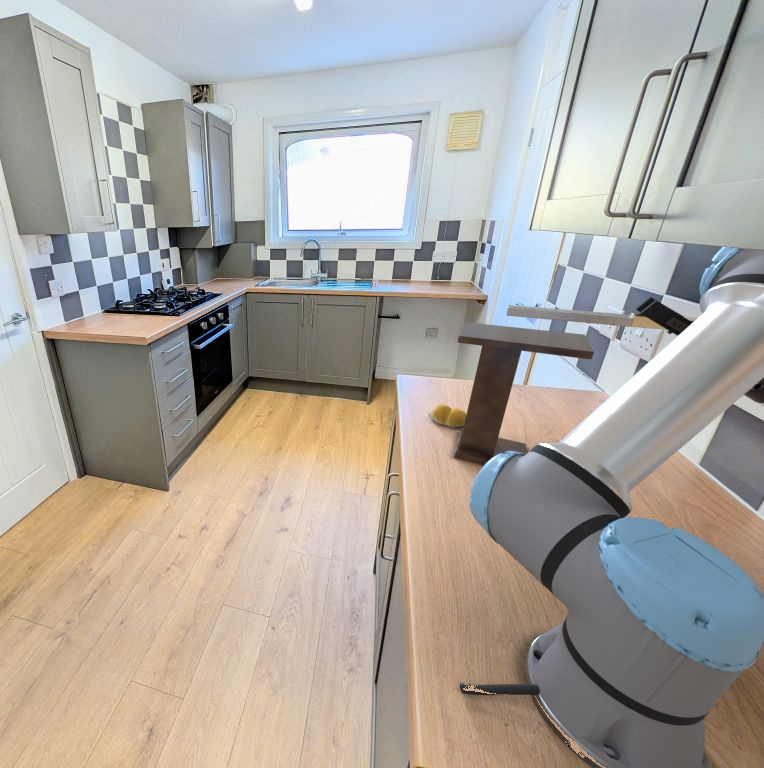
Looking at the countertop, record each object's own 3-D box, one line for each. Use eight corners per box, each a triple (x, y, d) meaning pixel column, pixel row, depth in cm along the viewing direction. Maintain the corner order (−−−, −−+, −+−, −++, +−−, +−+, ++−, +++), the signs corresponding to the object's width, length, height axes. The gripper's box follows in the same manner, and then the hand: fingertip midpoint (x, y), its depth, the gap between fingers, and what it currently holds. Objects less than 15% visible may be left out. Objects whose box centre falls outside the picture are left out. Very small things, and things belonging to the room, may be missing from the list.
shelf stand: (544, 453, 91) (584, 334, 79) (548, 482, 82) (594, 351, 70) (442, 430, 102) (464, 322, 90) (435, 452, 92) (458, 335, 81)
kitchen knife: (711, 330, 66) (716, 319, 66) (718, 334, 64) (723, 323, 63) (506, 312, 81) (509, 303, 80) (506, 315, 79) (508, 305, 78)
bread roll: (462, 431, 101) (465, 418, 99) (427, 421, 106) (429, 408, 104) (470, 419, 106) (473, 406, 105) (436, 410, 112) (438, 397, 110)
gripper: (782, 423, 60) (635, 333, 65) (737, 386, 72) (616, 312, 77) (846, 390, 55) (683, 295, 60) (786, 356, 67) (654, 280, 72)
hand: (645, 305), depth 68 cm, fingers closed on kitchen knife, 3 cm apart
